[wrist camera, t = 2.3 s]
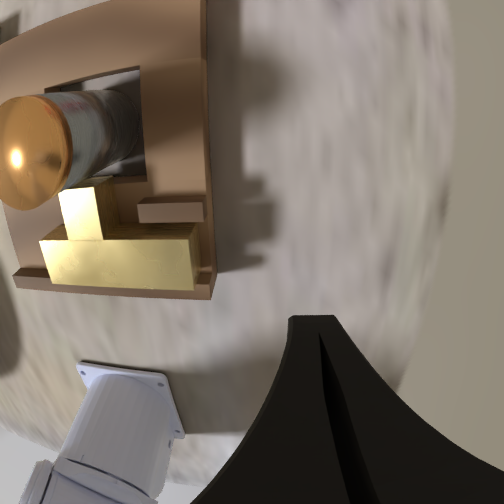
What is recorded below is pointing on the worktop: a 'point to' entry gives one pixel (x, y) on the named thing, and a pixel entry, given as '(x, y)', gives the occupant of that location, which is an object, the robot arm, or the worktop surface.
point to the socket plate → (153, 120)
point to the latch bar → (118, 244)
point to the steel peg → (61, 141)
